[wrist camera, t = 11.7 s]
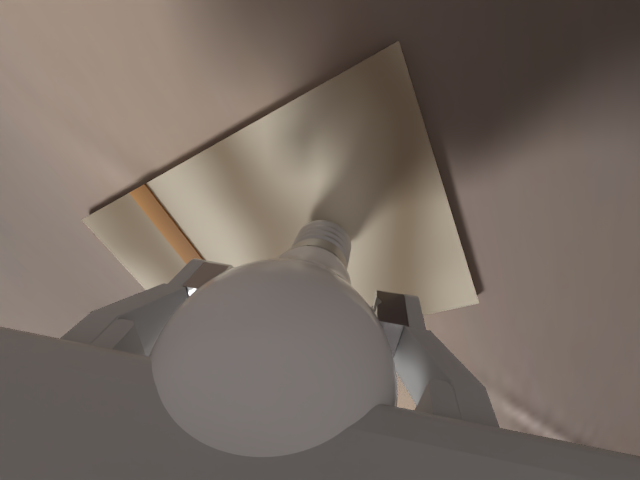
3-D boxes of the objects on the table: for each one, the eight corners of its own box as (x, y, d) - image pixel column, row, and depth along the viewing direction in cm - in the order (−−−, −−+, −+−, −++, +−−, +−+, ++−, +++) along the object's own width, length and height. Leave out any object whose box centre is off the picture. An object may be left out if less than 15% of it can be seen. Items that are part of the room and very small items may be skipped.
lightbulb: (417, 249, 14) (490, 618, 4) (322, 305, 17) (244, 597, 7) (330, 146, 12) (153, 378, 3) (242, 228, 15) (11, 474, 6)
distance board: (214, 356, 22) (210, 363, 22) (88, 216, 17) (79, 220, 17) (476, 296, 16) (479, 304, 15) (397, 41, 11) (399, 40, 10)
